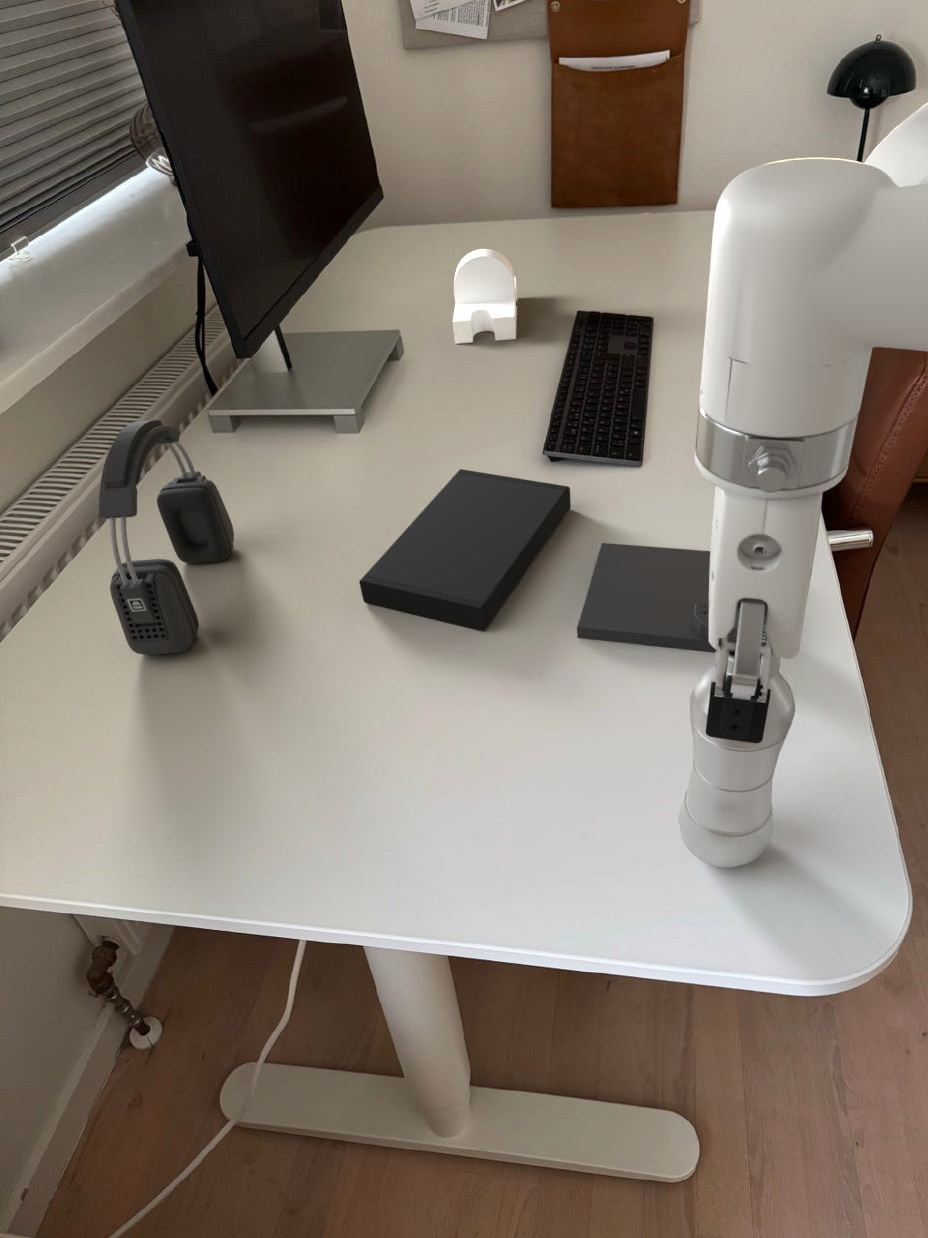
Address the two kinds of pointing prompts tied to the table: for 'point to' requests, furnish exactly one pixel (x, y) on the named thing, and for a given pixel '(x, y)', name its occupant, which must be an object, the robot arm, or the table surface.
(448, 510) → the external hard drive
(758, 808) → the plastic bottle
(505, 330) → the block with arch cutout
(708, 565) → the scale
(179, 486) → the headphones
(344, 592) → the table surface
